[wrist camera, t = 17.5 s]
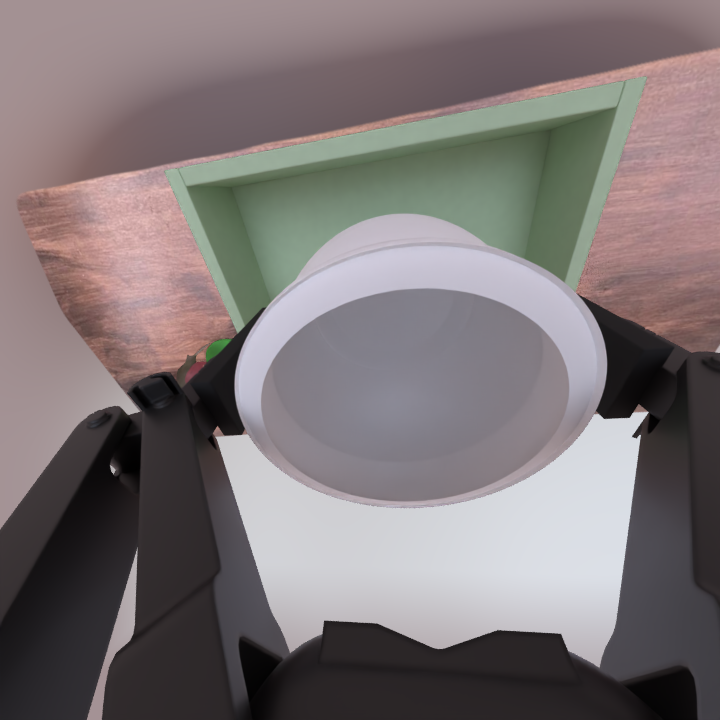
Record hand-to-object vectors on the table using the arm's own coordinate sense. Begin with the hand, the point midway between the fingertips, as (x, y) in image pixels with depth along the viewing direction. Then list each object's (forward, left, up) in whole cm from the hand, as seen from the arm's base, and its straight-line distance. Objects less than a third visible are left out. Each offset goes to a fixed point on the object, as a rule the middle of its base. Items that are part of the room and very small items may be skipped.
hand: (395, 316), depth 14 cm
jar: (0, 0, -8) cm, 8 cm away
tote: (0, 0, -8) cm, 8 cm away
